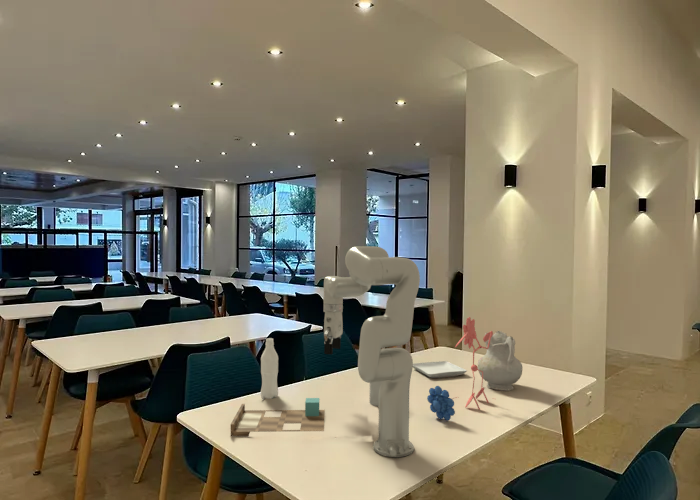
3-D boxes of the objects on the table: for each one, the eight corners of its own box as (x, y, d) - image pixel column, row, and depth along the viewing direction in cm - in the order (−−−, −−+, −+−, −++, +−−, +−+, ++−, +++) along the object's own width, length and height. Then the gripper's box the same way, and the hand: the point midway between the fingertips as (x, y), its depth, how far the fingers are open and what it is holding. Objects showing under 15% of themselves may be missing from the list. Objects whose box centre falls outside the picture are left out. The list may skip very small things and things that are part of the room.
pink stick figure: (498, 398, 196) (497, 314, 196) (473, 416, 176) (471, 322, 176) (464, 392, 206) (463, 312, 206) (436, 408, 185) (434, 319, 185)
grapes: (420, 418, 174) (421, 385, 174) (431, 413, 179) (431, 381, 178) (447, 426, 166) (448, 392, 165) (458, 421, 170) (458, 388, 170)
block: (318, 416, 171) (319, 402, 171) (305, 416, 171) (305, 402, 171) (319, 411, 176) (319, 397, 176) (305, 411, 176) (306, 398, 176)
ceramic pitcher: (534, 395, 205) (538, 337, 205) (498, 396, 198) (502, 337, 198) (501, 381, 225) (505, 329, 225) (467, 382, 218) (471, 328, 218)
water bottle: (256, 400, 192) (257, 339, 192) (267, 395, 198) (268, 336, 198) (271, 403, 189) (271, 341, 188) (281, 398, 195) (282, 338, 195)
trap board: (323, 435, 158) (323, 423, 157) (230, 436, 156) (230, 424, 156) (324, 413, 177) (324, 403, 177) (242, 414, 176) (242, 403, 176)
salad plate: (409, 369, 243) (409, 362, 243) (446, 366, 249) (446, 360, 249) (428, 381, 222) (428, 373, 222) (468, 377, 229) (468, 370, 229)
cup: (388, 406, 186) (388, 376, 185) (368, 405, 187) (368, 375, 187) (390, 400, 194) (390, 371, 193) (371, 398, 195) (371, 370, 195)
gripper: (335, 311, 175) (334, 357, 175) (348, 305, 191) (348, 347, 192) (316, 310, 177) (315, 355, 177) (331, 304, 193) (330, 345, 194)
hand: (332, 351), depth 185 cm, fingers open, 9 cm apart
